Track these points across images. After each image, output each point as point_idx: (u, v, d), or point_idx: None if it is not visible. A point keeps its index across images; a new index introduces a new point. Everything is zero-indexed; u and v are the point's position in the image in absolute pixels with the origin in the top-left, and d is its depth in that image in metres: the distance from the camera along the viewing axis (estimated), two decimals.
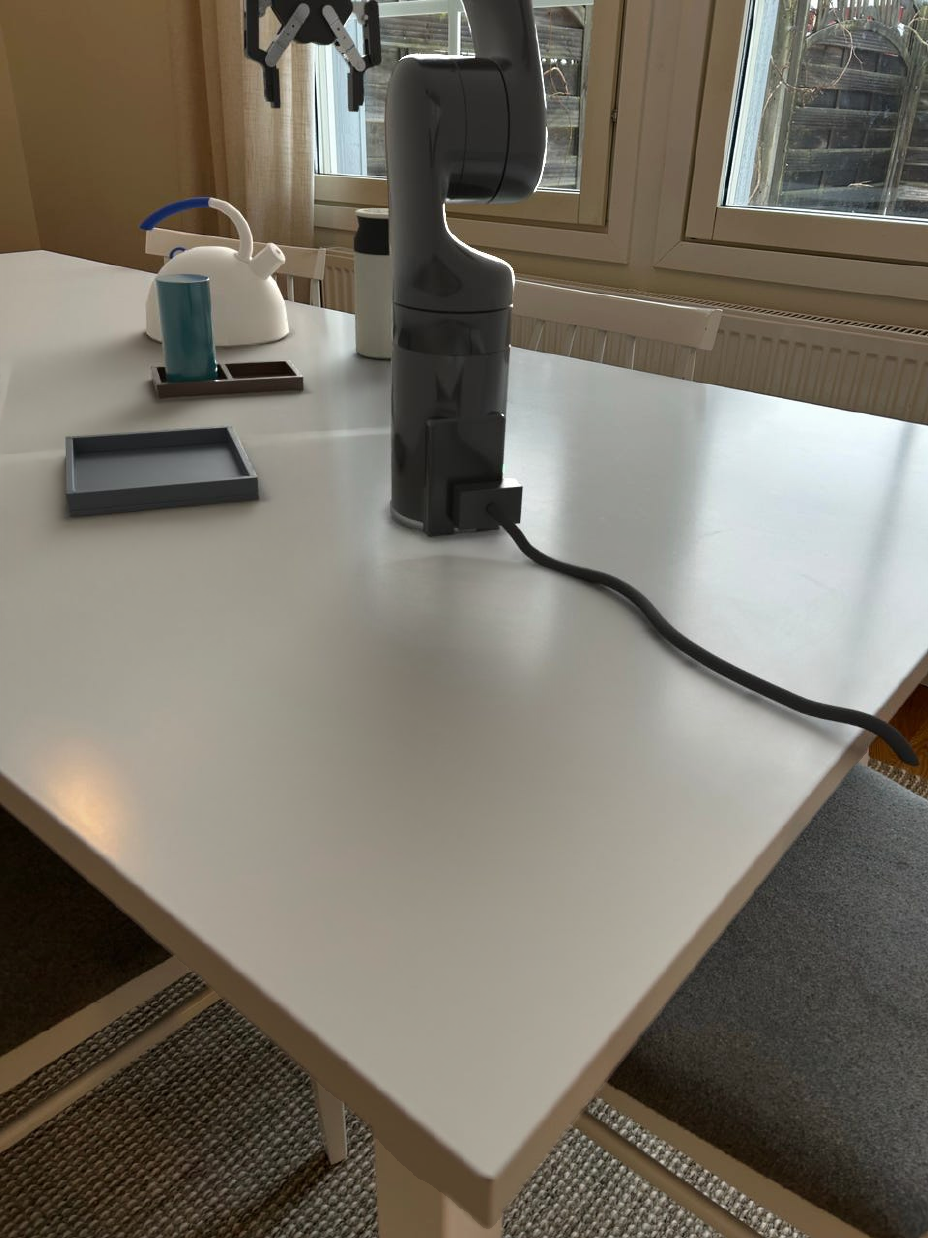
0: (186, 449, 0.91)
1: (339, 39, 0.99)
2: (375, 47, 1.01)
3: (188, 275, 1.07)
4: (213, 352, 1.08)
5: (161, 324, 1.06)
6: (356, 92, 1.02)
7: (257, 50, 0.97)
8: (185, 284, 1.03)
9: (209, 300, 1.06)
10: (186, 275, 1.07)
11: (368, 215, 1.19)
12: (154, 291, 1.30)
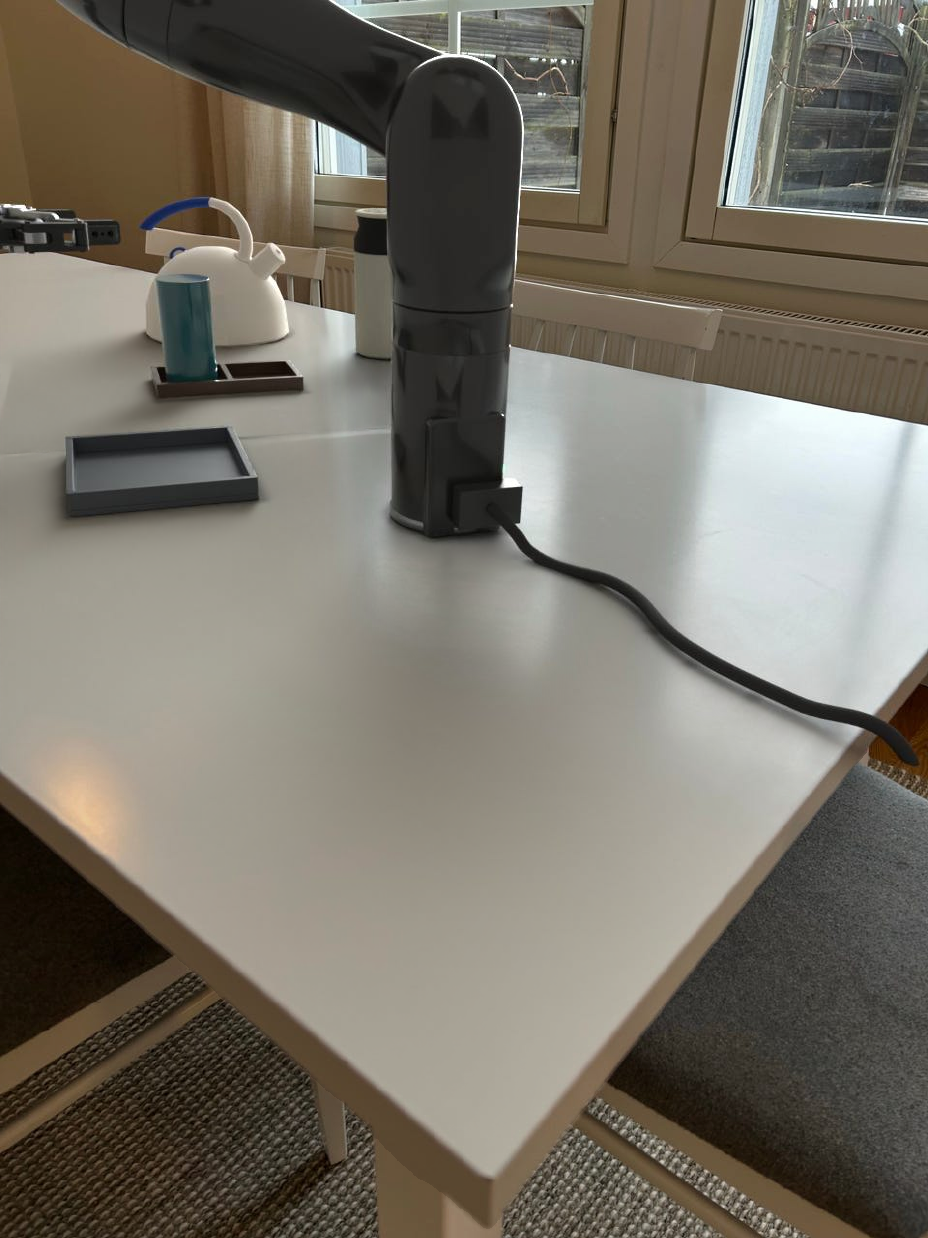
0: (186, 449, 0.91)
1: (17, 205, 0.92)
2: None
3: (188, 275, 1.07)
4: (213, 352, 1.08)
5: (161, 324, 1.06)
6: (56, 209, 0.96)
7: (75, 221, 0.88)
8: (185, 284, 1.03)
9: (209, 300, 1.06)
10: (186, 275, 1.07)
11: (368, 215, 1.19)
12: (154, 291, 1.30)
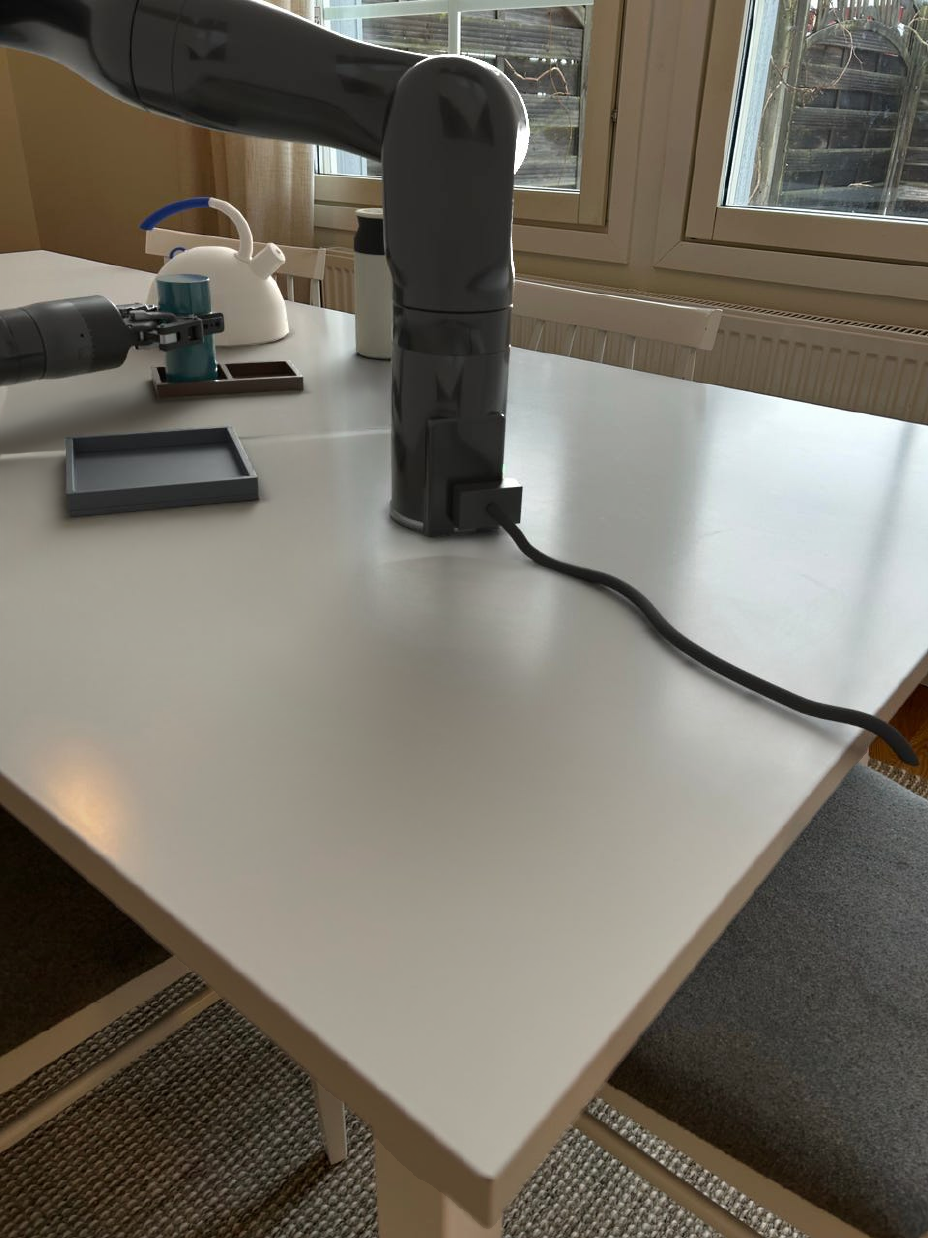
0: (186, 449, 0.91)
1: (139, 306, 1.04)
2: (128, 304, 1.07)
3: (188, 275, 1.07)
4: (213, 352, 1.08)
5: None
6: None
7: (192, 318, 1.02)
8: (185, 284, 1.03)
9: (210, 300, 1.06)
10: (186, 275, 1.07)
11: (368, 215, 1.19)
12: (154, 291, 1.30)
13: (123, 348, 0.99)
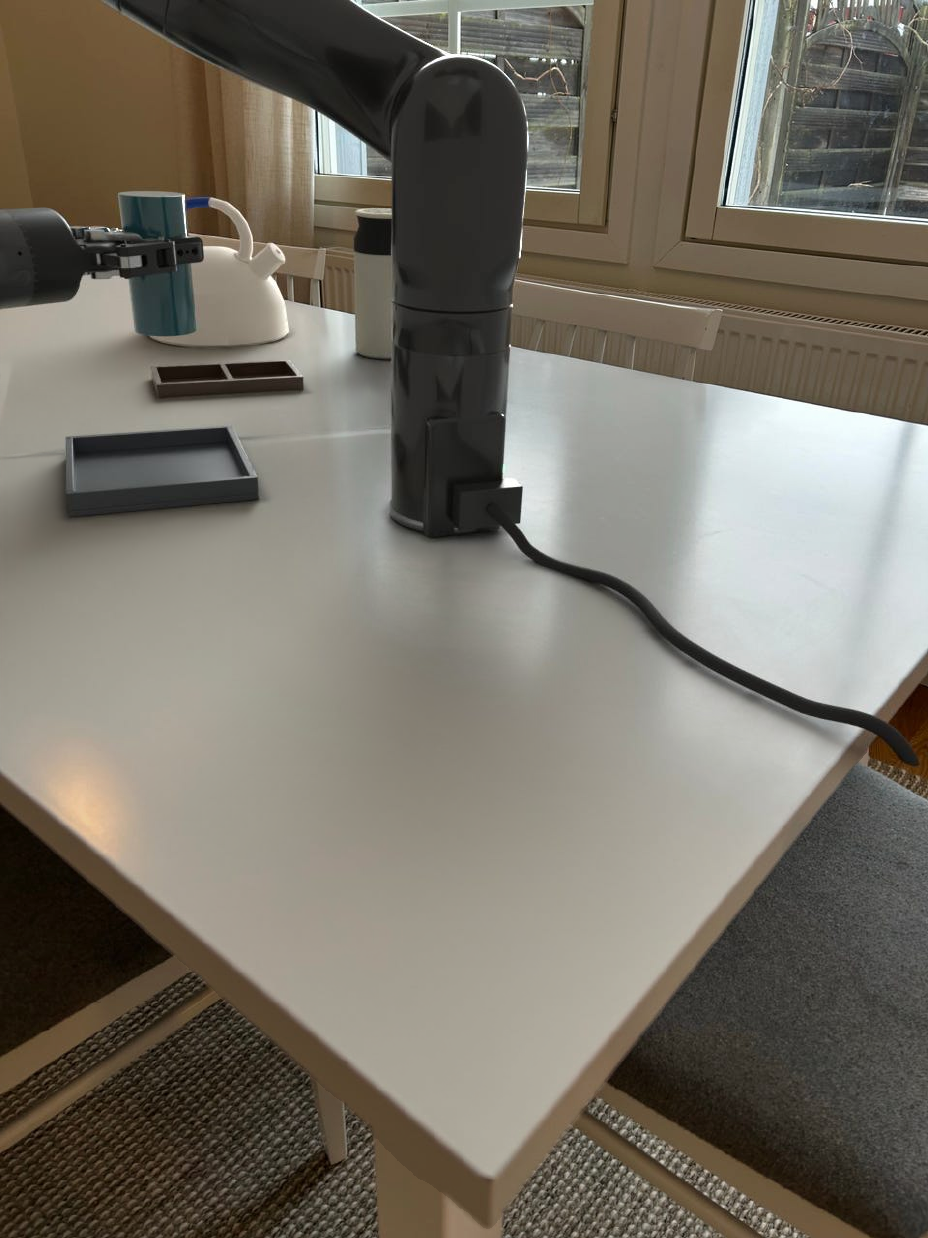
0: (186, 449, 0.91)
1: (98, 227, 0.85)
2: None
3: (160, 192, 0.87)
4: (190, 288, 0.89)
5: None
6: None
7: (162, 240, 0.83)
8: (154, 199, 0.83)
9: (185, 222, 0.87)
10: (157, 192, 0.87)
11: (368, 215, 1.19)
12: None
13: (74, 273, 0.79)
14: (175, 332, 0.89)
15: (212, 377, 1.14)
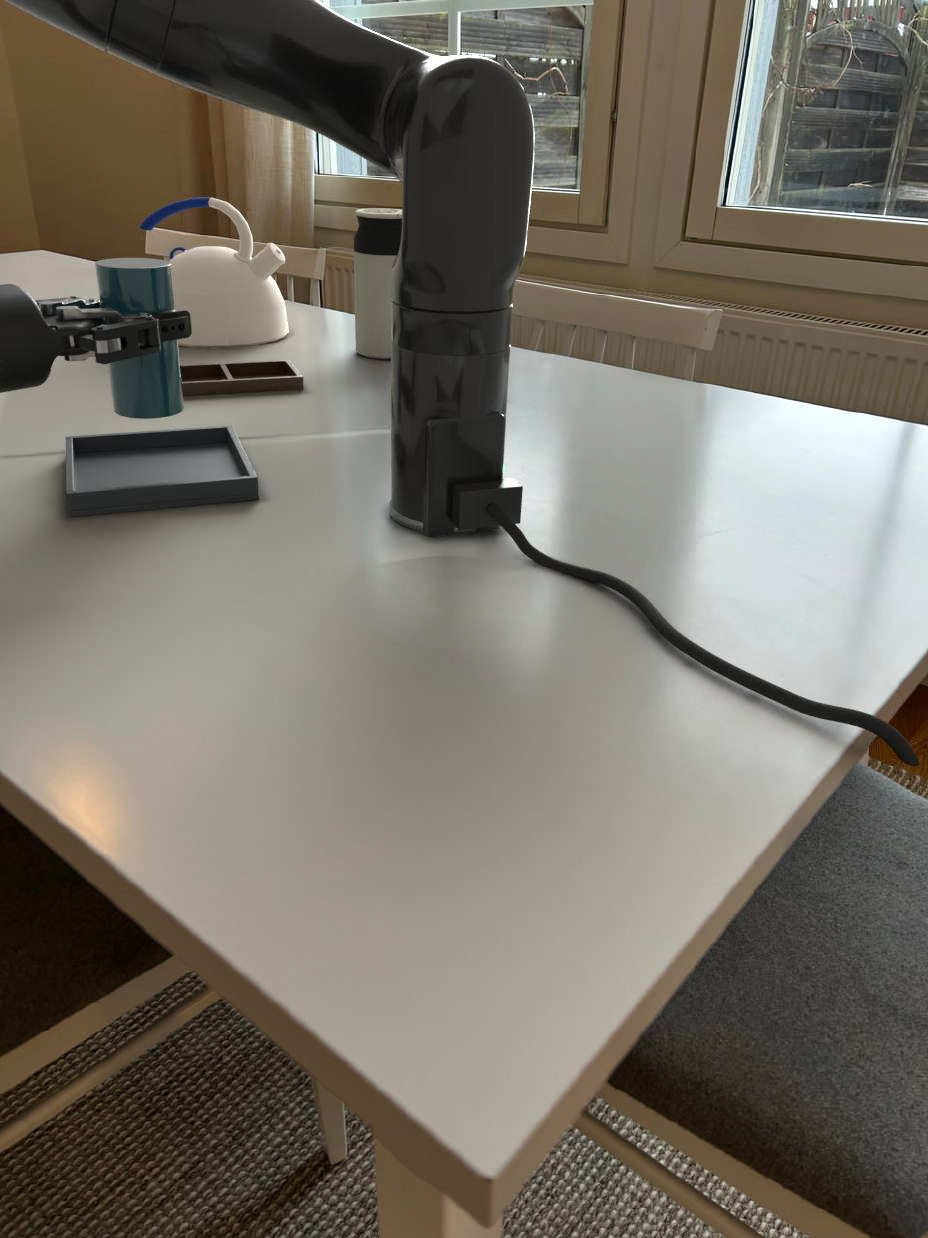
0: (186, 449, 0.91)
1: (73, 301, 0.76)
2: (60, 299, 0.79)
3: (142, 259, 0.78)
4: (176, 365, 0.80)
5: None
6: None
7: (144, 318, 0.74)
8: (135, 271, 0.74)
9: (171, 294, 0.78)
10: (140, 259, 0.78)
11: (368, 215, 1.19)
12: None
13: (44, 359, 0.70)
14: (159, 414, 0.80)
15: (212, 377, 1.14)
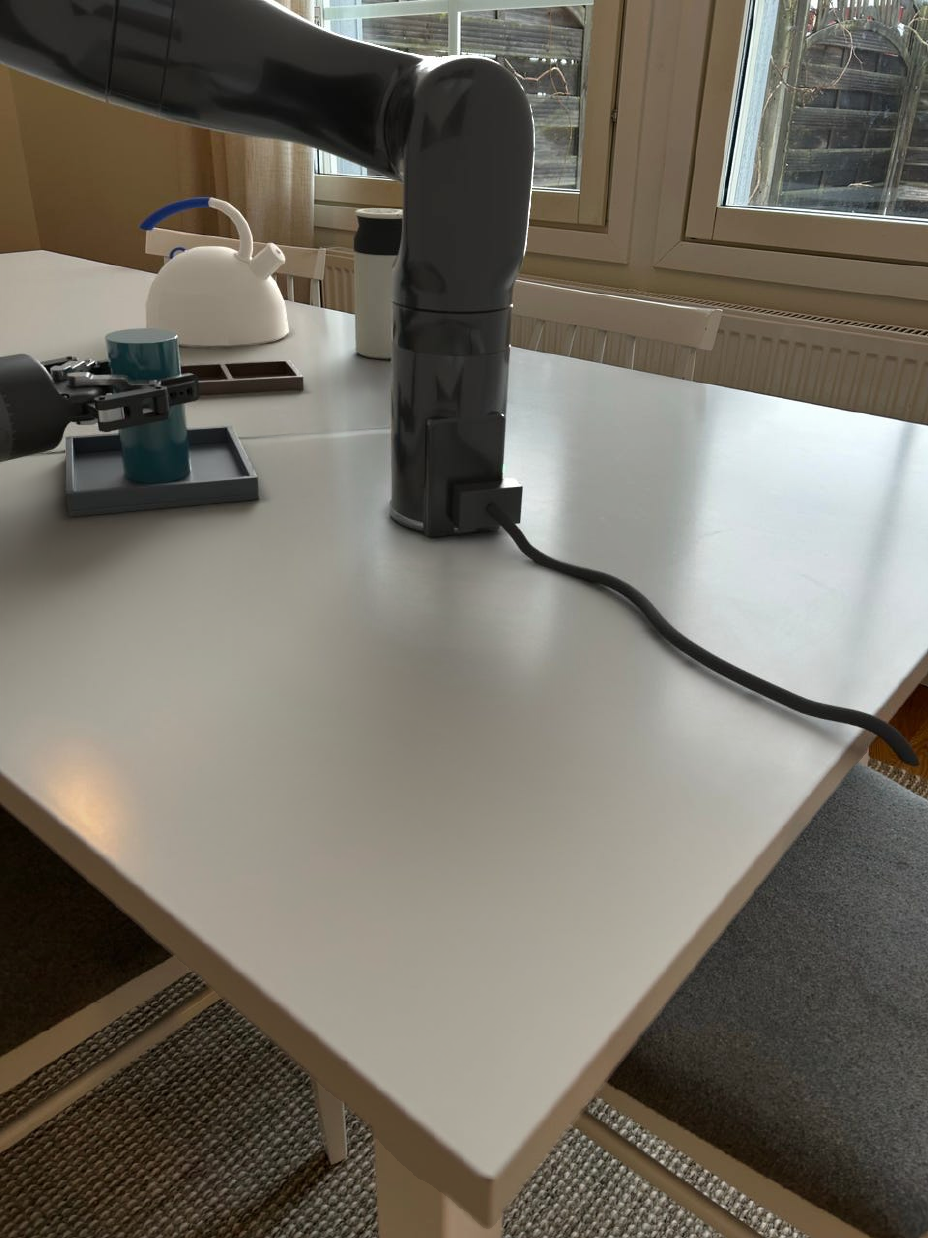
0: None
1: (78, 364, 0.78)
2: (59, 360, 0.81)
3: (150, 331, 0.81)
4: (184, 431, 0.83)
5: None
6: None
7: (154, 386, 0.75)
8: (144, 345, 0.77)
9: (178, 364, 0.80)
10: (147, 331, 0.81)
11: (368, 215, 1.19)
12: (154, 291, 1.30)
13: (57, 426, 0.72)
14: (168, 478, 0.83)
15: (212, 377, 1.14)
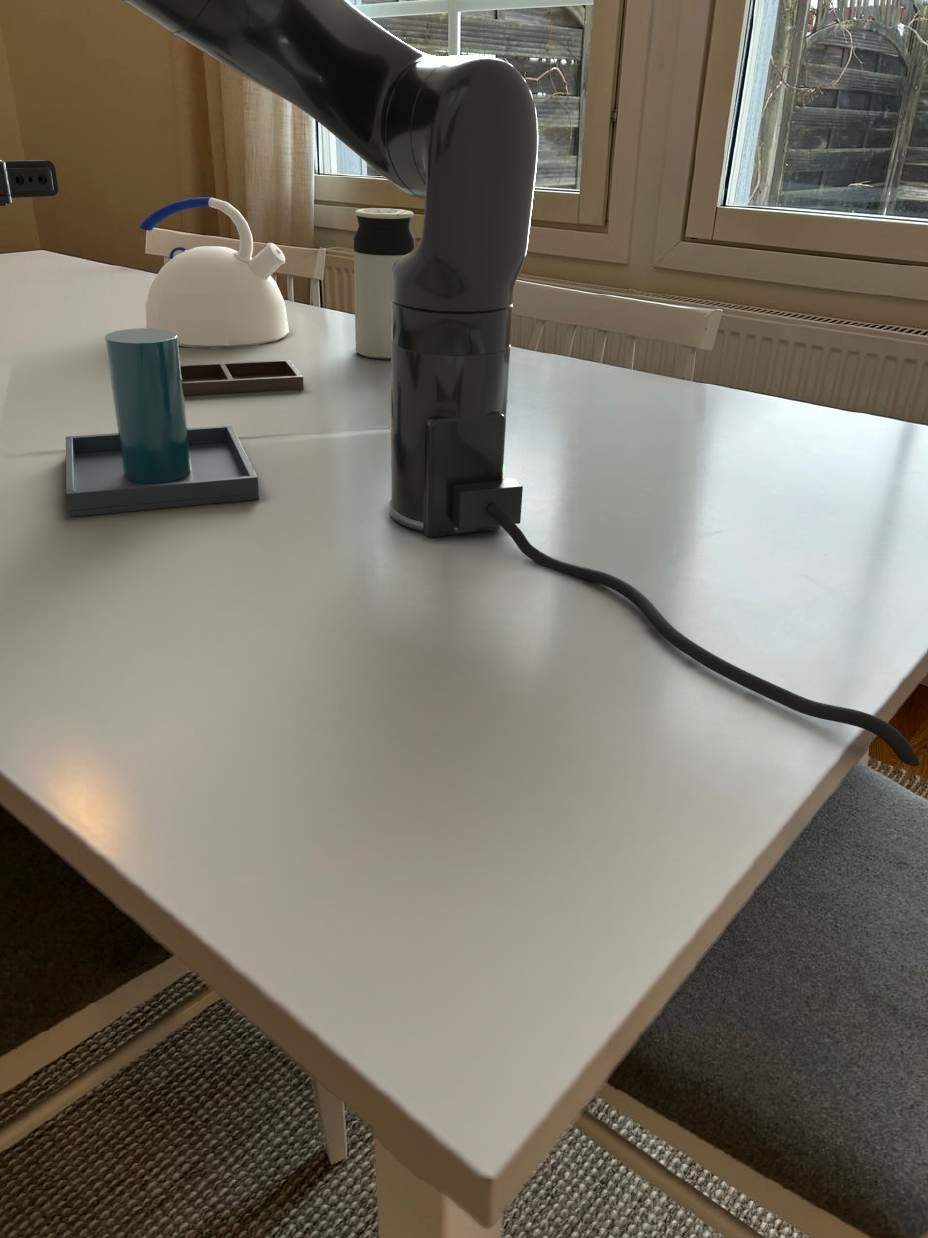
0: None
1: None
2: None
3: (150, 331, 0.81)
4: (184, 431, 0.83)
5: (114, 396, 0.80)
6: None
7: None
8: (144, 345, 0.77)
9: (178, 364, 0.80)
10: (147, 331, 0.81)
11: (368, 215, 1.19)
12: (154, 291, 1.30)
13: None
14: (168, 478, 0.83)
15: (212, 377, 1.14)
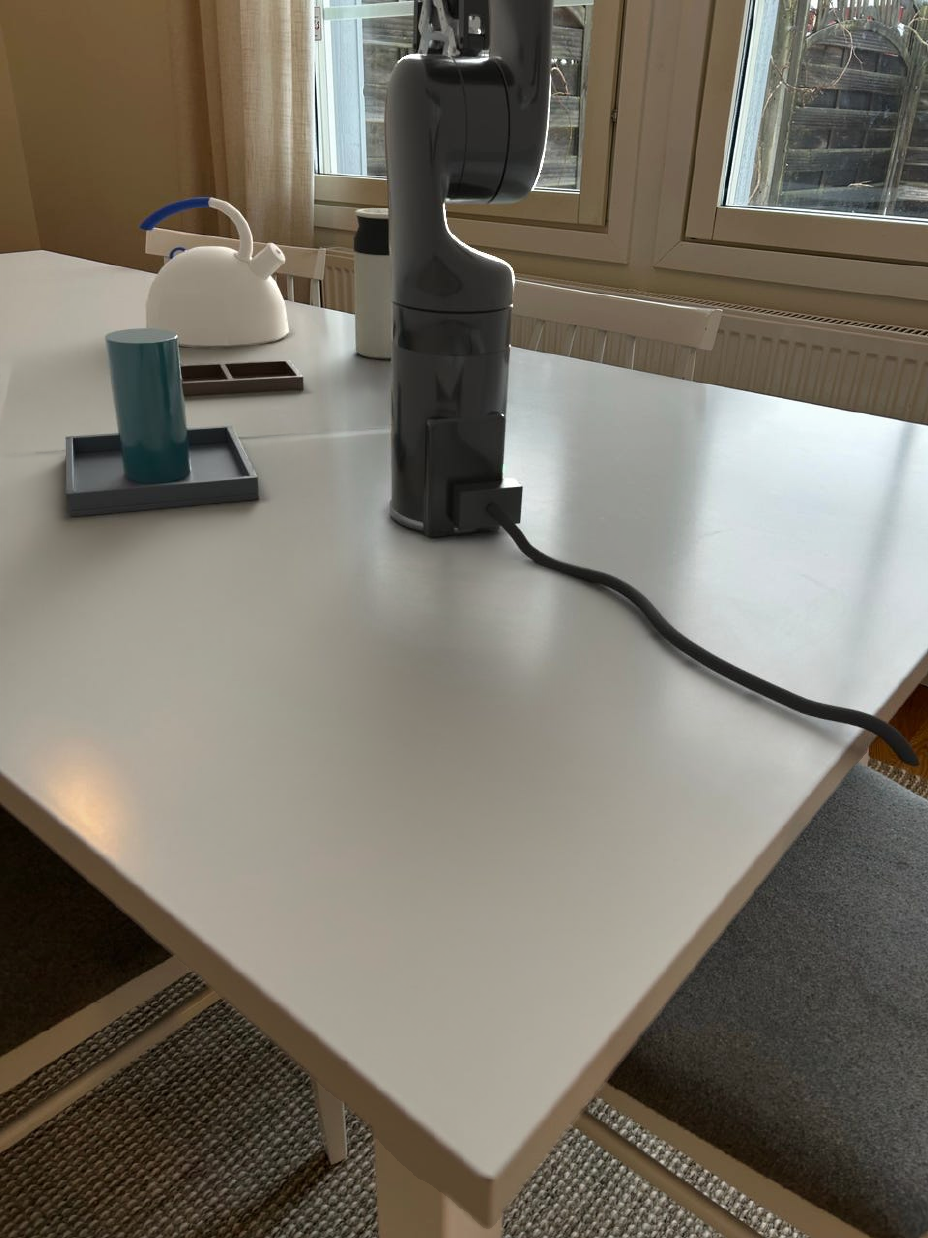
0: None
1: None
2: None
3: (150, 331, 0.81)
4: (184, 431, 0.83)
5: (114, 396, 0.80)
6: None
7: None
8: (144, 345, 0.77)
9: (178, 364, 0.80)
10: (147, 331, 0.81)
11: (368, 215, 1.19)
12: (154, 291, 1.30)
13: None
14: (168, 478, 0.83)
15: (212, 377, 1.14)
